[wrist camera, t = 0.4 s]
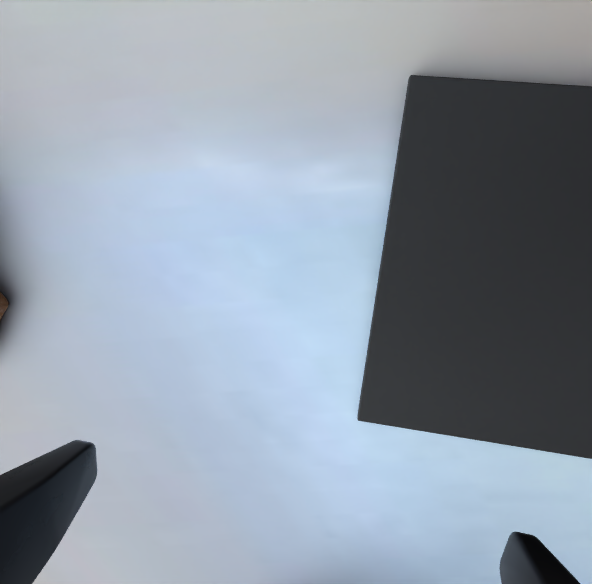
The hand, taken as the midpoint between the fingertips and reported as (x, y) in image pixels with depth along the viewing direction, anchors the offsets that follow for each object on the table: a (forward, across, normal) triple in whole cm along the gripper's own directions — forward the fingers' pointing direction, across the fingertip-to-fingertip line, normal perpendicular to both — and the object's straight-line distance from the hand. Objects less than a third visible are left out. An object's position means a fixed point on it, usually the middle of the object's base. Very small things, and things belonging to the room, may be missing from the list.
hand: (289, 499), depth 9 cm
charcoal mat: (+15, -12, -2) cm, 19 cm away
